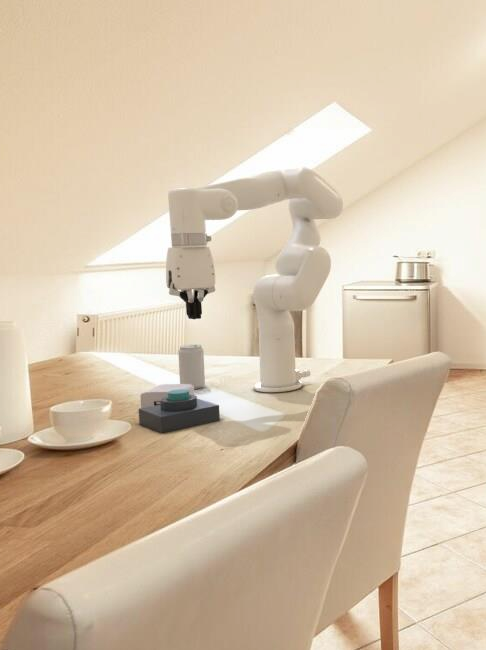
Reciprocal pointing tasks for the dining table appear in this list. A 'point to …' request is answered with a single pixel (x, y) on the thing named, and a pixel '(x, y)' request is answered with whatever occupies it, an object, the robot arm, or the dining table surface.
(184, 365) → the beverage can
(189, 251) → the robot arm
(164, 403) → the teal push button box
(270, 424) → the dining table surface
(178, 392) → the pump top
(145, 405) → the hinged button cover
